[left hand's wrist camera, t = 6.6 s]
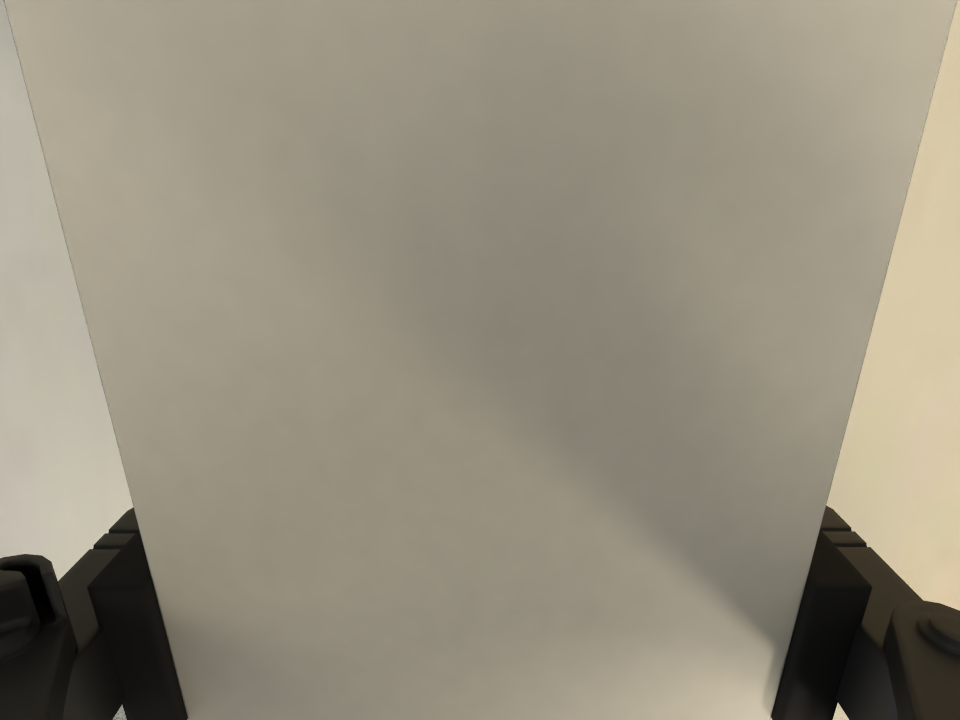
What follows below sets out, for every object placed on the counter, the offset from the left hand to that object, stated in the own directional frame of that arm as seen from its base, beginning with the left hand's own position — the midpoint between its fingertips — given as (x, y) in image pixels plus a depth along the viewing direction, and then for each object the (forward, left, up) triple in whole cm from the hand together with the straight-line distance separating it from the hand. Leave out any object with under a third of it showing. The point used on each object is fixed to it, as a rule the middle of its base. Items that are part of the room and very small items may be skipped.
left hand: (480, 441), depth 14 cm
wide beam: (+23, -17, -1) cm, 29 cm away
